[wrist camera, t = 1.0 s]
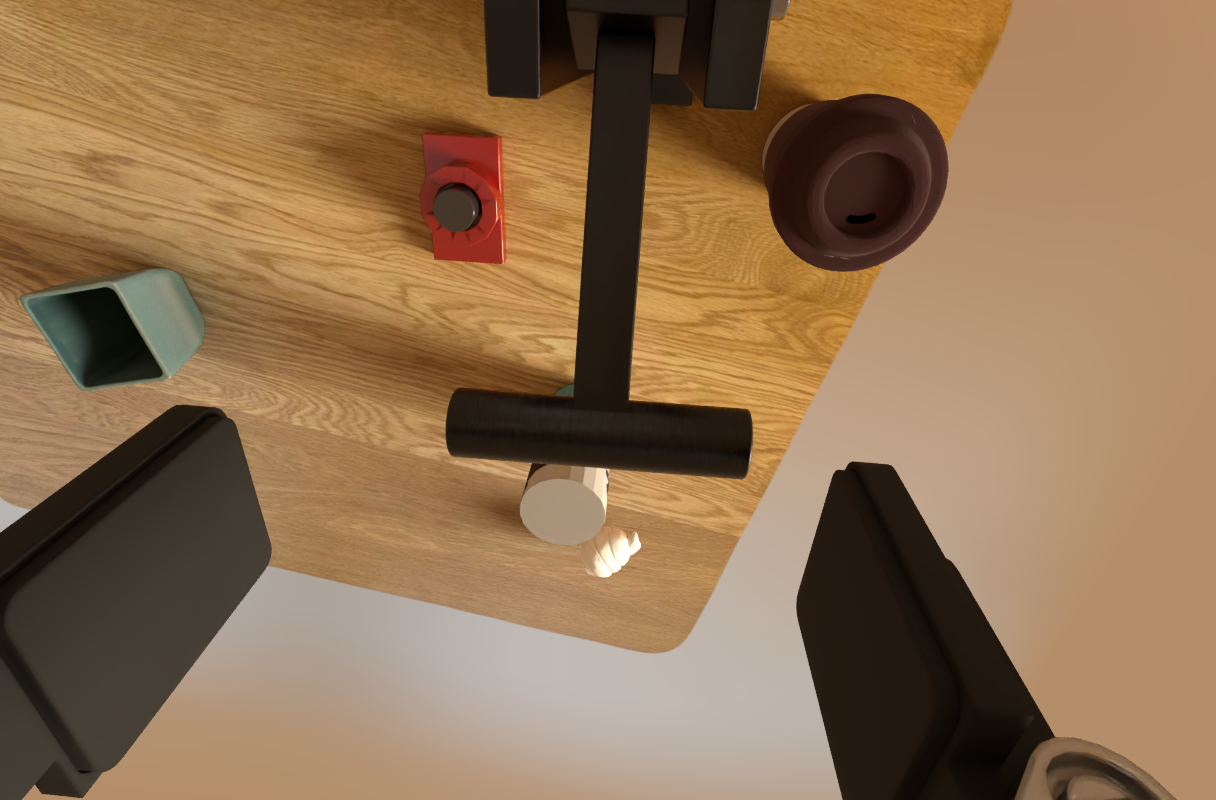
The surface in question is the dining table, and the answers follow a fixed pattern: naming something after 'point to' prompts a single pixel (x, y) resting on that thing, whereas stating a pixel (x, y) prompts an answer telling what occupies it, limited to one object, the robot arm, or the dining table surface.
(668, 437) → the t-handle lever
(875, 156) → the coffee cup
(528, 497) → the beige cylindrical canister
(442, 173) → the button block
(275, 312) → the dining table surface
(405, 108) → the dining table surface
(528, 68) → the lever bracket
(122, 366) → the flower pot
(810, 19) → the dining table surface
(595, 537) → the garlic bulb
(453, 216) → the button
